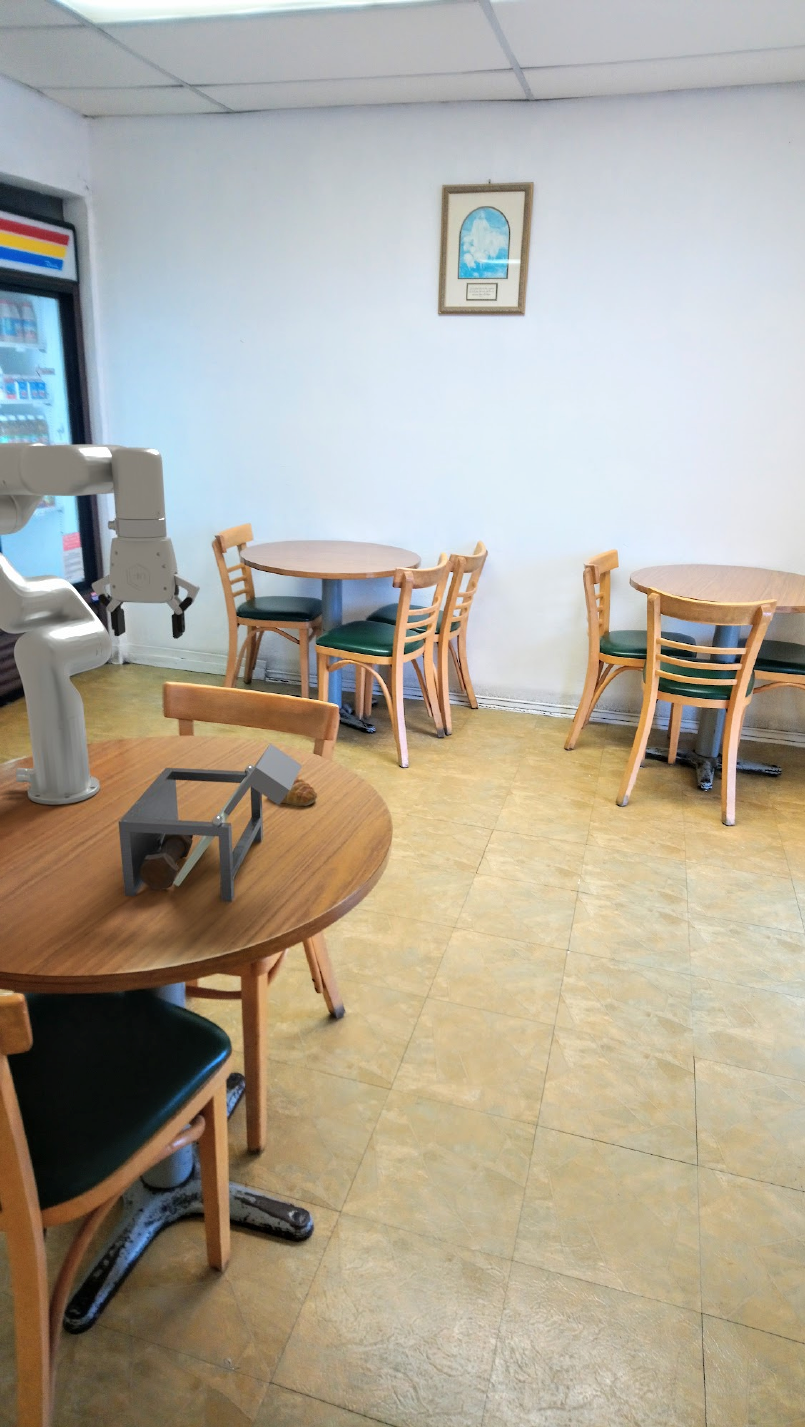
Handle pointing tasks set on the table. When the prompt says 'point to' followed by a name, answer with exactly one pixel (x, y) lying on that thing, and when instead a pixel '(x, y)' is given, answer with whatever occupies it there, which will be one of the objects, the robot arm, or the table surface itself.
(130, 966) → the table surface
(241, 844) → the frame
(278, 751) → the trapdoor
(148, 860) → the bolt
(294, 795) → the pastry
